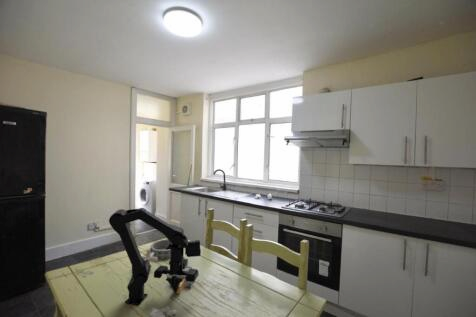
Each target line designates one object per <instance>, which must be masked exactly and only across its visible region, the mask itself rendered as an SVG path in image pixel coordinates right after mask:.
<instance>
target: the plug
mask: <svg viewBox="0 0 476 317" xmlns="http://www.w3.org/2000/svg"><path fill="white" fill-rule="evenodd" d="M185 268H190V269H193V267H192V266H188V265H187V266H185ZM185 284H187V281H186V277H185V278H184V280H183V281H182V282H180V285H179V288H178V291H177V293H176V294H181V293H182V291H183V289H184V287H185Z"/></svg>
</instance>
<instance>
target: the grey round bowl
mask: <svg viewBox="0 0 476 317" xmlns="http://www.w3.org/2000/svg"><path fill="white" fill-rule="evenodd" d="M169 242H170V241H169V240H168V239H167V238H166V239H160V240H156V241H155V242H153V243H151V245H150V247H149V248H150V254H151V253H152V252H153V253H154V255H153V256H152V257H158V259H160V260H164V259H170V249H162V248H166V245H167V244H168V243H169Z"/></svg>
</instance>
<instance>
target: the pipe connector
mask: <svg viewBox="0 0 476 317" xmlns="http://www.w3.org/2000/svg"><path fill="white" fill-rule="evenodd" d="M150 248H151V247H149V248H146V255H141V257H142V258H143V259H144V260H146V259H148V260H149V264H150V265H151V261H153V262H154V261H156V262H157V261H158V257H152V256H153V255H154V253H153V252H152V253H151V254H150Z"/></svg>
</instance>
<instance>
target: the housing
mask: <svg viewBox="0 0 476 317" xmlns="http://www.w3.org/2000/svg"><path fill="white" fill-rule="evenodd" d="M189 269H190V268H185V269H183V270H184V271H186V272H188V271H189ZM176 279H177V278H176ZM194 283H195V282H187V281H186V287H187V288H192V286H193V285H194Z"/></svg>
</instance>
